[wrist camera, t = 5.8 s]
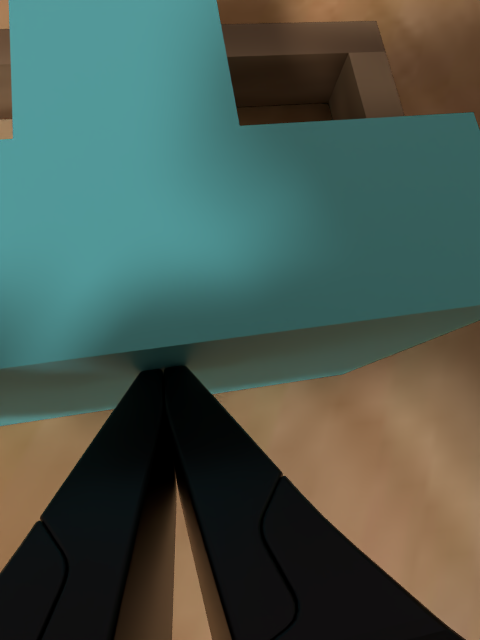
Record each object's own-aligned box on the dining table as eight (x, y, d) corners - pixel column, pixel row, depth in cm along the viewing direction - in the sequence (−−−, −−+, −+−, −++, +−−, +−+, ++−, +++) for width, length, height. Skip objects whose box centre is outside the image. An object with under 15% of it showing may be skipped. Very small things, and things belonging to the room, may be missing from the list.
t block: (342, 374, 15) (537, 297, 7) (-10, 427, 14) (-365, 416, 5) (289, 129, 18) (380, -157, 9) (-14, 147, 16) (-252, -184, 7)
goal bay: (414, 299, 16) (452, 276, 14) (-127, 368, 14) (-195, 354, 11) (353, 72, 19) (376, 21, 17) (-112, 91, 16) (-164, 32, 14)
